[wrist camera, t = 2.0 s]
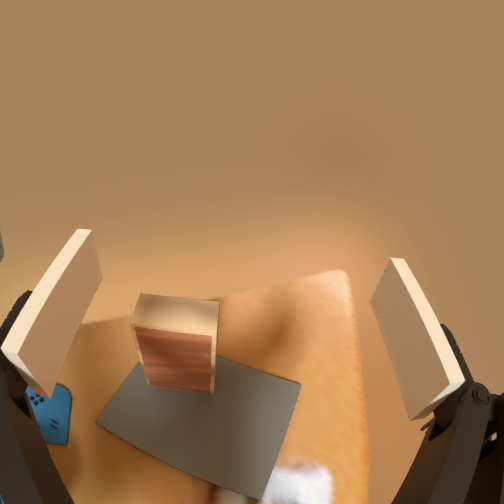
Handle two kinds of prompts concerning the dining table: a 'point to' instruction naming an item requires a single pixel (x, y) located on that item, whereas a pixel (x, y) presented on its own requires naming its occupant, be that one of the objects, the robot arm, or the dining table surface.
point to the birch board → (177, 341)
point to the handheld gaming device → (52, 414)
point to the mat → (208, 424)
